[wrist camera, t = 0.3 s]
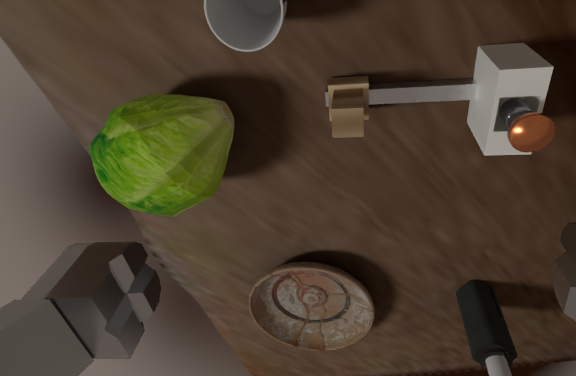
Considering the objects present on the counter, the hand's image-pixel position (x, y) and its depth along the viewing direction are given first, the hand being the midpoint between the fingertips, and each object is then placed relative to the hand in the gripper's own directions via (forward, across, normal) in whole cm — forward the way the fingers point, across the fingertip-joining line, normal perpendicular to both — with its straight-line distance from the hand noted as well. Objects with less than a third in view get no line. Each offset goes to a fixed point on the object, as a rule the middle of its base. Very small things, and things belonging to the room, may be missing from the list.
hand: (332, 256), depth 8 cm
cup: (+47, +11, 0) cm, 48 cm away
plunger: (+39, -16, +15) cm, 45 cm away
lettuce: (+47, +26, +16) cm, 56 cm away
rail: (+46, -4, +14) cm, 49 cm away
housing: (+46, -16, +15) cm, 52 cm away
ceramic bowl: (+47, +13, +53) cm, 72 cm away
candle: (+47, -16, +53) cm, 73 cm away
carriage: (+46, +2, +14) cm, 49 cm away
